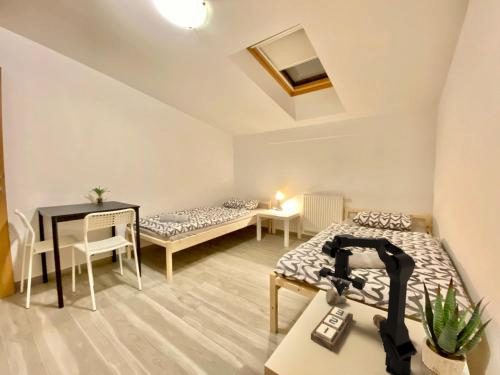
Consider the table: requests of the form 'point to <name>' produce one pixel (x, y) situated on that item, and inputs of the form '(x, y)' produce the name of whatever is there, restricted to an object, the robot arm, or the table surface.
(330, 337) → the tile
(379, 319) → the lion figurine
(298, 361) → the table surface
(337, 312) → the tile
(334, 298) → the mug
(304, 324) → the table surface
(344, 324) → the tile rack
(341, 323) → the tile
